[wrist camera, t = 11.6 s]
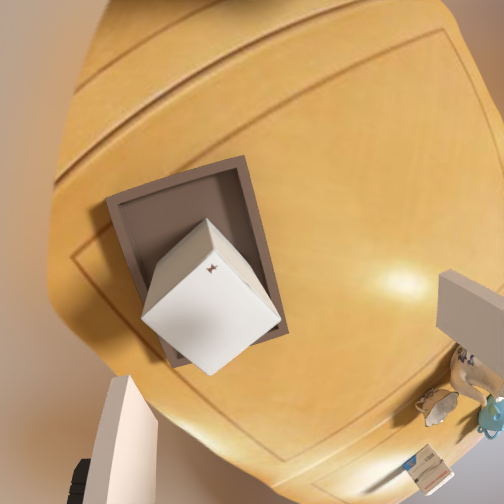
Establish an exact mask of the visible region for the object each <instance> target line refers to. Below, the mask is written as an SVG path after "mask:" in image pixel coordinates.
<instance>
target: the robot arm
mask: <svg viewBox="0 0 504 504" xmlns="http://www.w3.org/2000/svg"><path fill="white" fill-rule="evenodd" d="M436 327H437V328H439V329H440V330H441V331H443V332H444V333H445V334H447V335H448V336H449V337H451V338H452V339H453V340H454V341H456V342H457V343H458V344H460V345H461V346H462V347H463V348H465V349H466V350H467V351H468V352H470V353H471V354H472V355H474V356H475V357H476V358H477V359H479V360H480V361H481V362H482V363H484V364H485V365H486V366H487V367H488V368H490V369H491V370H492V371H493V372H495V373H496V374H497V375H498V376H500V377H501V378H502V379H503V380H504V297H503V296H501V295H499V294H497V293H495V292H494V291H492V290H490V289H488V288H486V287H484V286H482V285H481V284H479V283H477V282H475V281H473V280H471V279H469V278H467V277H465V276H463V275H461V274H459V273H457V272H455V271H454V270H452V269H449V270H447V271H445V272H443V273H441V274H439V288H438V307H437V321H436ZM157 432H158V421H157V420H156V418H155V416H154V415H153V414H152V412H151V410H150V409H149V407H148V405H147V404H146V402H145V400H144V399H143V397H142V395H141V394H140V392H139V390H138V389H137V387H136V385H135V384H134V382H133V380H132V378H131V377H130V375H125V376H120V377H115V378H112V380H111V384H110V387H109V390H108V394H107V397H106V401H105V405H104V408H103V412H102V416H101V420H100V424H99V428H98V432H97V436H96V441H95V445H94V449H93V454H92V458H91V459H81V461H80V462H79V464H78V465H77V467H76V468H75V470H74V473H73V477H72V481H71V483H72V485H71V486H70V491H69V493H70V495H68V500H67V504H155V484H156V452H157Z"/></svg>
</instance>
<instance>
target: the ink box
mask: <svg viewBox="0 0 504 504" xmlns="http://www.w3.org/2000/svg"><path fill="white" fill-rule="evenodd" d="M403 466H404V468H405V469H406V471H407V472H408V473H409V475H410V476H411V477H412V479H413V480H414V482H415V483H416V484H417V486H418V487H419V488H420V490H421V491H422V492H423V494H424V495H427V496H429V495H431V494H432V493H433V492H434V491H436V490H437V489H438V488H439V487H441V486H442V485H443V484H444V483H446V482H447V481H448V480H449V479H450V478H452V477H453V476H454V475H455V474H454V473H453V471H452V470H451V469H450V468H449V467H448V465H447V464H446V463H445V462H444V460H443V459H442V458H441V457H440V456H439V455H438V453H437V452H436V451H435V450H434V449H433V448H432V446H431V445H430V444H427V445H426V446H425V447H424V448H423V449H422V450H421V451H419V452H418V453H417V454H416V455H415V456H413V457H412V458H411V459H410V460H409V461H407V462H406V463H405V464H404V465H403Z"/></svg>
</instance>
